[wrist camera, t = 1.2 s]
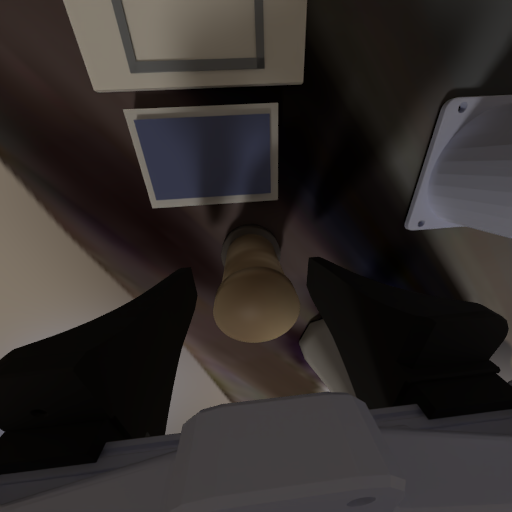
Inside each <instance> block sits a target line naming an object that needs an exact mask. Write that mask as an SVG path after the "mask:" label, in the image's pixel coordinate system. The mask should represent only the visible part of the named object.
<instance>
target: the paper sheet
mask: <svg viewBox="0 0 512 512" xmlns="http://www.w3.org/2000/svg"><path fill="white" fill-rule="evenodd" d="M63 1H64V4H65V7H66V10H67V13H68V16H69V19H70V22H71V25H72V28H73V30H74V33H75V36H76V39H77V42H78V45H79V48H80V51H81V54H82V57H83V60H84V63H85V66H86V68H87V71H88V74H89V77H90V80H91V83H92V86H93V89H94V91H96V92H98V93H99V92H124V91H149V90H174V89H199V88H224V87H249V86H274V85H299V84H302V83H303V76H304V55H305V34H306V13H307V0H63Z"/></svg>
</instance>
